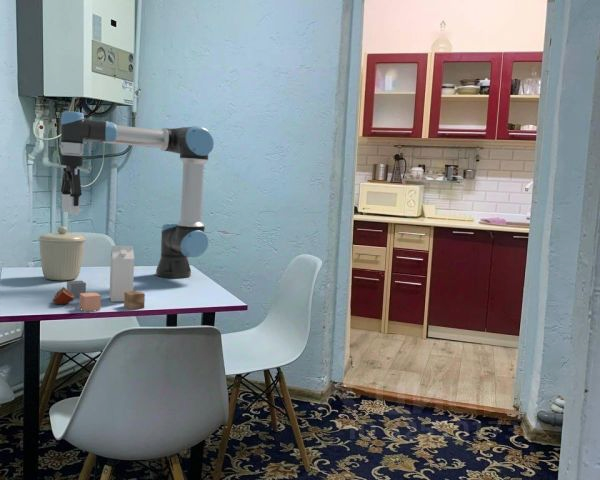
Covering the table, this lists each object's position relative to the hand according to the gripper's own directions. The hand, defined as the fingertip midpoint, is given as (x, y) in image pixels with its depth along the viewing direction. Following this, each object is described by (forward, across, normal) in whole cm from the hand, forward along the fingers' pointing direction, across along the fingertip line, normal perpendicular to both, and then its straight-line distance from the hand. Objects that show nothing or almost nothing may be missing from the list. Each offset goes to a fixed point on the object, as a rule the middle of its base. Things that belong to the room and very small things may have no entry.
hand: (70, 213), depth 208 cm
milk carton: (+28, +24, +12) cm, 39 cm away
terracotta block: (+28, +34, -1) cm, 44 cm away
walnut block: (+28, +36, +13) cm, 47 cm away
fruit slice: (+28, +24, -7) cm, 37 cm away
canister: (+28, -20, +2) cm, 35 cm away
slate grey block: (+28, +13, 0) cm, 31 cm away
